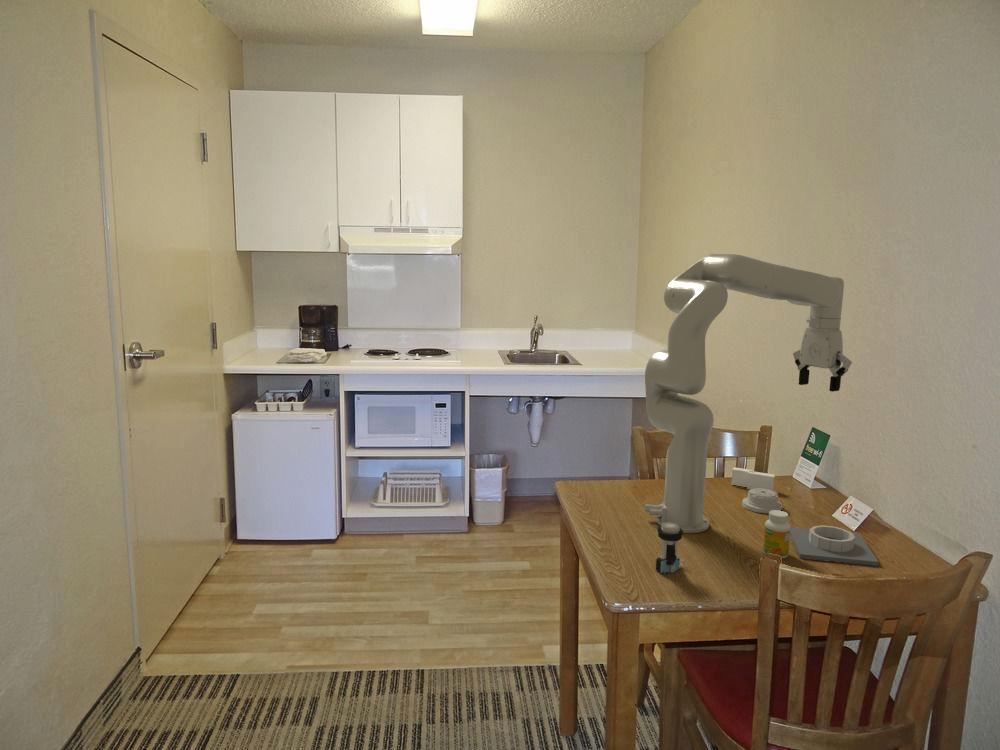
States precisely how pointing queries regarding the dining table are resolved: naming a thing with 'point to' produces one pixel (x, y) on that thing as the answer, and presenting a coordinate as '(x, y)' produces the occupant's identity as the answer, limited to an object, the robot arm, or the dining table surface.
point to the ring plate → (832, 545)
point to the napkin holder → (752, 479)
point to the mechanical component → (761, 500)
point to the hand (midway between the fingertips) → (818, 387)
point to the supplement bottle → (777, 534)
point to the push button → (669, 547)
